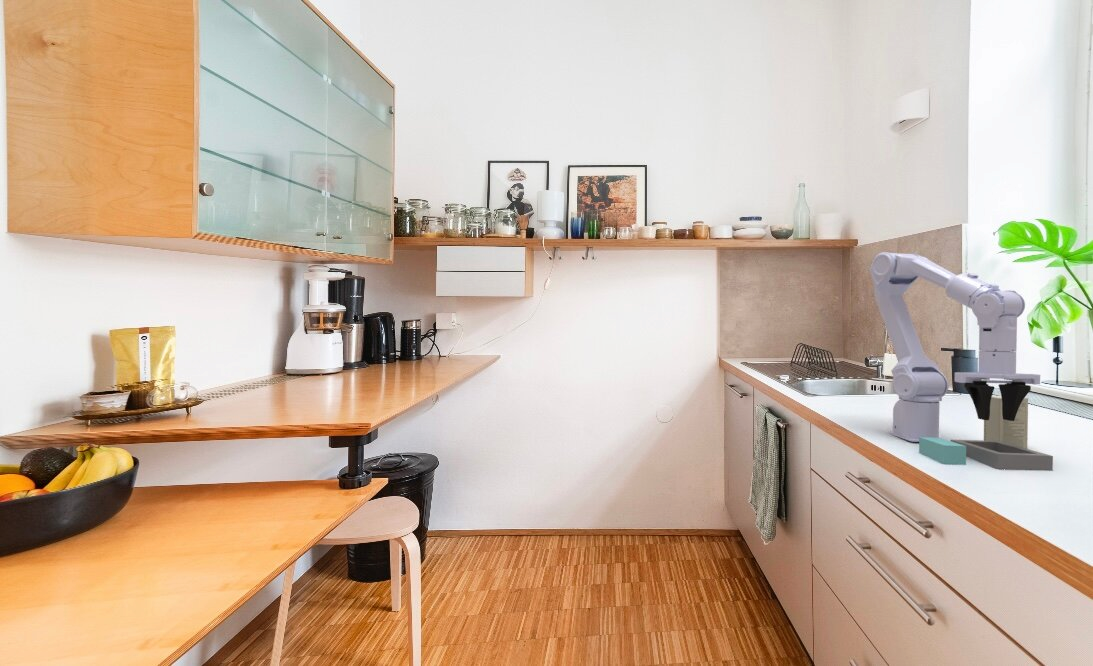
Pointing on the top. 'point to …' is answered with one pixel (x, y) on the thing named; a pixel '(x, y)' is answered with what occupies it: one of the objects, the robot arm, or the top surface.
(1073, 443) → the top surface
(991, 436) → the skincare box
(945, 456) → the peg
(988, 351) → the robot arm
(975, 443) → the socket block
